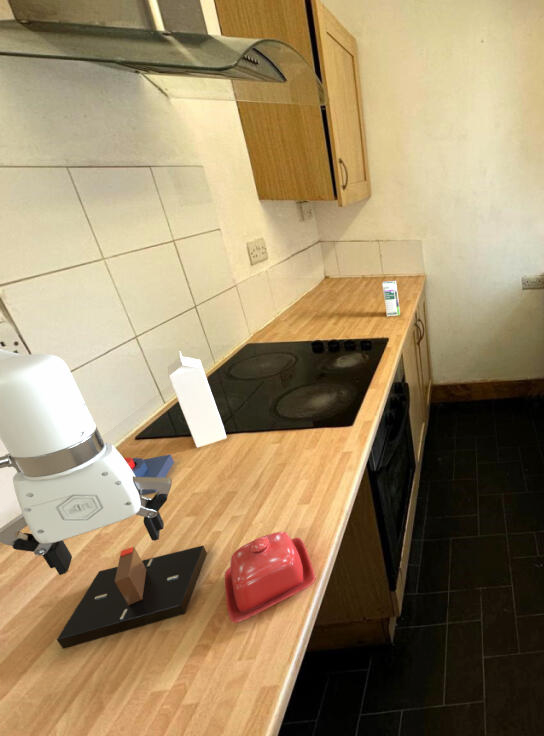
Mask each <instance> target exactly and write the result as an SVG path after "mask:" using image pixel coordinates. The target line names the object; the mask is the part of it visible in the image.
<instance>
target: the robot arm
mask: <svg viewBox="0 0 544 736" xmlns="http://www.w3.org/2000/svg"><path fill="white" fill-rule="evenodd" d="M0 441H1V442H2V444H3V445H4V447H5V448H6V450H7V453H6V454H5V455H3V456H0V469H3V468H12V467H13V468H14V469H15V470H16V473H15V474H14V475H13V477H12V483H13V489H14V493H15V497H16V500H17V503H18V505H19V508H20V511H21V513H20V514H19V515H18V516H16V517H15V518H14V519H11V520H10V521H9V522H8V523H6V524H4V525H3V526H2V527H0V543H1V544H3V545H6V546H11V547H12V549H13V550H16V551H24V552H30V553H31V552H33V555H35V556H42V557H43V559H44V560H45V562H46V564H47V565H48V567H49V568H50V569H55V570H56V572H57V573H58V575H59V576H62V575H65V574H67V572H69V568H70V566H71V562H72V560H73V556H72V553H71V551H70V550H69V548H68V547H67V545H66V543H65V542H64V541H65V540H69V539H71V538H75V537H77V536H80V535H83V534H87V533H90V532H93V531H96V530H99V529H102V528H104V527H107V526H110V525H113V524H117V523H119V522H122V521H125V520H127V519H130V518H132V517H134V516H135V515H137V516H141V517H143V525H144V526H145V529H146V531H147V533H148V535H149V538H150V540H151V541H152V542H153V541H154V542H156V541H158V540H160V532H161V531H162V530H164V528H165V524H164V521H163V520H164V519H163V518H162V515H161V514H160V509H162V507H163V506H164V505H165V503H166V502H167V500H168V497H169V494H170V490H171V488H172V484H173V481H172V480H173V479H172V478H171V477H165V478H163V477H136V476H135V475H134V473H133V471H132V470H131V468H130V467H129V465H128V464H127V462H126V461H125V459H124V458H125V457H123V455H122V454H121V453H120V452H119V451H118V450H117V448H116V447H115V446H114V445H113V444H112V443H110V442H105V441H104V440H103V437H102V436H101V433H100V431H99V429H98V427H97V424H96V422H95V421H94V419H93V416H92V414H91V412H90V410H89V408H88V406H87V404H86V401H85V399H84V397H83V395H82V393H81V390H80V389H79V387H78V385H77V383H76V380H75V379H74V376H73V374H72V372H71V370H70V368H69V366H68V364H67V362H65V360H64V359H62V358H61V357H59V356H57V355H54V354H50V353H30V354H22V353H18V352H13V351H10V350H6V349H1V348H0ZM142 490H157V492H156V493H155V494H154V496H153V497H149V496H147V495H142ZM26 527H28V529H29V531H30V533H29V532H22V531H21V530H23V529H24V528H26Z"/></svg>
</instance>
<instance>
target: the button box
mask: <svg viewBox="0 0 544 736" xmlns="http://www.w3.org/2000/svg"><path fill="white" fill-rule="evenodd" d="M131 458H132V457H131ZM132 459H133V461H134V463H135V468H133V469H132V471H133V473H134V475H135V476H136V477H163V478H167V475H168V474H169V471H170V470H171V469H172V467H173V465H174V463H175V461H174V459H173V456H172V454H165V455H160V456H154V457H149V458H145V459H144V458H141V457H133V458H132ZM157 492H158V490H142V495H143V496H147V495H151V494H156V493H157Z"/></svg>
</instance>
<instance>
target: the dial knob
mask: <svg viewBox="0 0 544 736" xmlns="http://www.w3.org/2000/svg"><path fill="white" fill-rule="evenodd" d="M117 567H118V568H117V573H116V578H115V583H116V585H117V587H118V588H119V590H120V592H121V594H122V595H123V597H124V599H125V600H126V602H127V604H128V605H131V604H133V603H135V602H138V601H140V600H142V598H143V591H144V584H145V576H146V568H145V566H144V564H143V562H142V559H141V557H140V555H139V553H138V551H137V549H136V547H135V546H134V547H133V546H131V547H128V548H126V549H123V550H121V551H120V554H119V559H118V564H117Z"/></svg>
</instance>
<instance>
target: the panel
mask: <svg viewBox="0 0 544 736" xmlns="http://www.w3.org/2000/svg"><path fill="white" fill-rule="evenodd" d="M207 555H208V552H207V550H206V548H205V546H204V545H198V546H194V547H191V548H186V549H183V550H178V551H175V552H171V553H167V554H163V555H159V556H155V557H151V558H146V559H143V560H142V559H141V560H142V562H143V564H144V566H145V568H146V576H145V584H144V591H143V598H142V600H140V601H138V602H135V603H133V604H131V605H128V604H127V602H126V600H125V599H124V597H123V595H122V594H121V592H120V590H119V588H118V587H117V585H116V583H115V578H116V573H117V568H118V566H114V567H110V568H107V569H103V570H99V571H98V572H97V574H96V576H95V577H94V579H93V580H92V582H91V584H90V585H89V586H88V588H87V590H86V592H85V593H84V595H83V596H82V598H81V599H80V601H79V602H78V605H77V606H76V608H75V609H74V611H73V612H72V614H71V616H70V617H69V619H68V620H67V622H66V623H65V625H64V627H63V629H62V630H61V632H60V633H59V635H58V636H57V638H56V641H57V643H58V645H60V647H61V648H62V649H63V650H64V649H68V648H71V647H75V646H78V645H82V644H86V643H89V642H92V641H95V640H96V641H97V640H99V639H103V638H106V637H110V636H112V635H116V634H117V635H118V634H120V633H123V632H127V631H130V630H133V629H137V628H142V627H144V626H148V625H151V624H154V623H159V622H162V621H165V620H169V619H172V618H175V617H179V616H183V615H185V614H186V612H187V611H188V608H189V605H190V602H191V599H192V596H193V594H194V591H195V588H196V585H197V582H198V580H199V577H200V575H201V572H202V570H203V565H204V563H205V560H206V558H207Z"/></svg>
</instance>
